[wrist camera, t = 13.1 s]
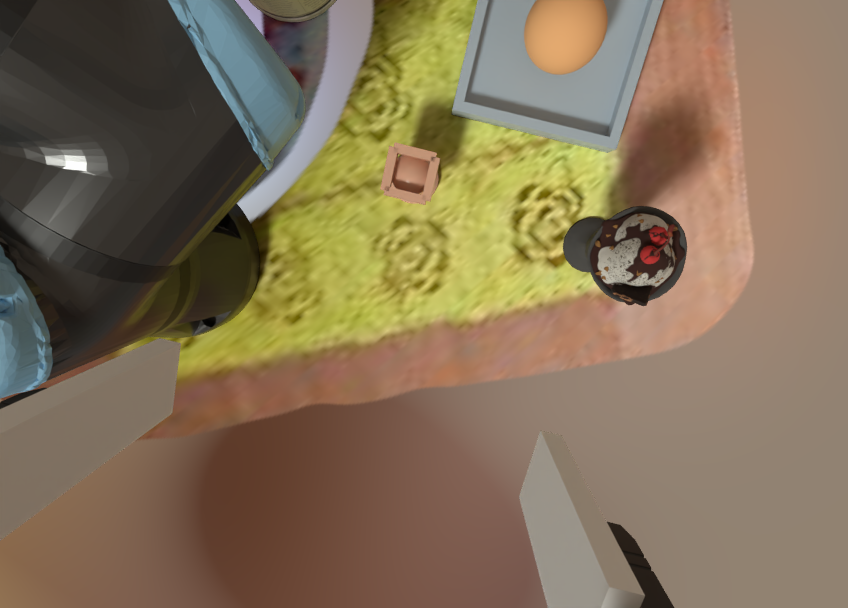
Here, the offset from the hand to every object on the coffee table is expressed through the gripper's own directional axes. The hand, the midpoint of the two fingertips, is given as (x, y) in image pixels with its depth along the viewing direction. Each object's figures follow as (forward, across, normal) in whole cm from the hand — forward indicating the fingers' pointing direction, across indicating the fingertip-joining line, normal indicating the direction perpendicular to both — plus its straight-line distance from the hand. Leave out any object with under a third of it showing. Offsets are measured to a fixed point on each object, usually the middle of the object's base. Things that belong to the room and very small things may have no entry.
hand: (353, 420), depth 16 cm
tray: (+27, +7, +23) cm, 36 cm away
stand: (+27, -2, +10) cm, 29 cm away
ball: (+23, +7, +23) cm, 33 cm away
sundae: (+27, +15, +8) cm, 32 cm away
